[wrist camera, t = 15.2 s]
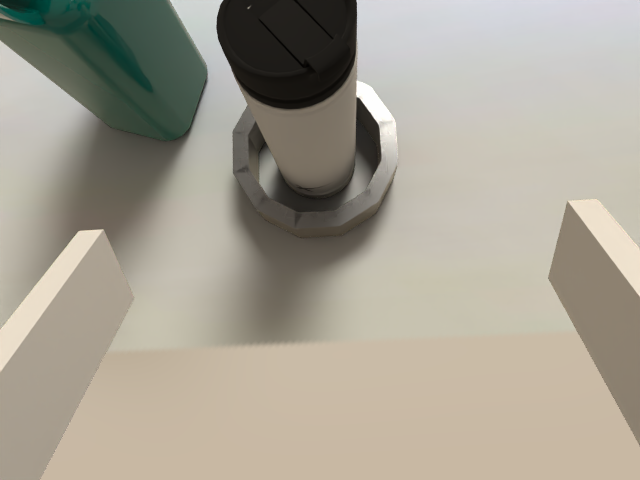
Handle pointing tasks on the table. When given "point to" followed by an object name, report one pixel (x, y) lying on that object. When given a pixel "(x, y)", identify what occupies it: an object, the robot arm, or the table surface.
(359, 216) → the ring collar
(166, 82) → the green bottle
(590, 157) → the table surface
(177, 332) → the table surface
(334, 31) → the travel mug
